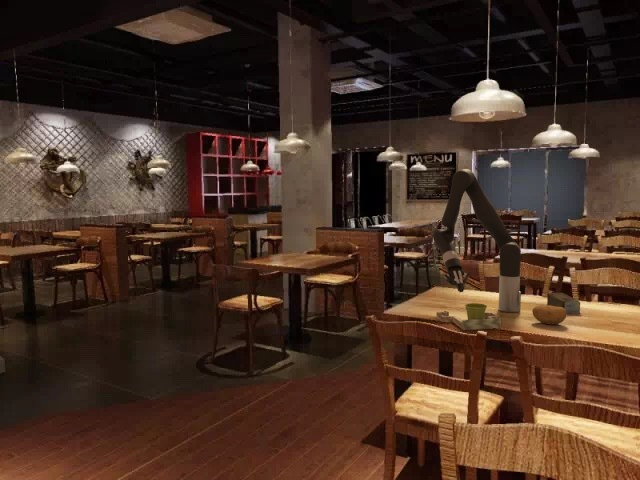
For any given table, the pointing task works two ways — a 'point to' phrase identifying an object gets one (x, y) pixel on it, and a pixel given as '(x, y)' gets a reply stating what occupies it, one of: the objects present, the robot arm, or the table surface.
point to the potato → (549, 314)
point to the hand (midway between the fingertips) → (461, 291)
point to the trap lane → (472, 321)
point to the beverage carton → (563, 302)
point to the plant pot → (475, 311)
